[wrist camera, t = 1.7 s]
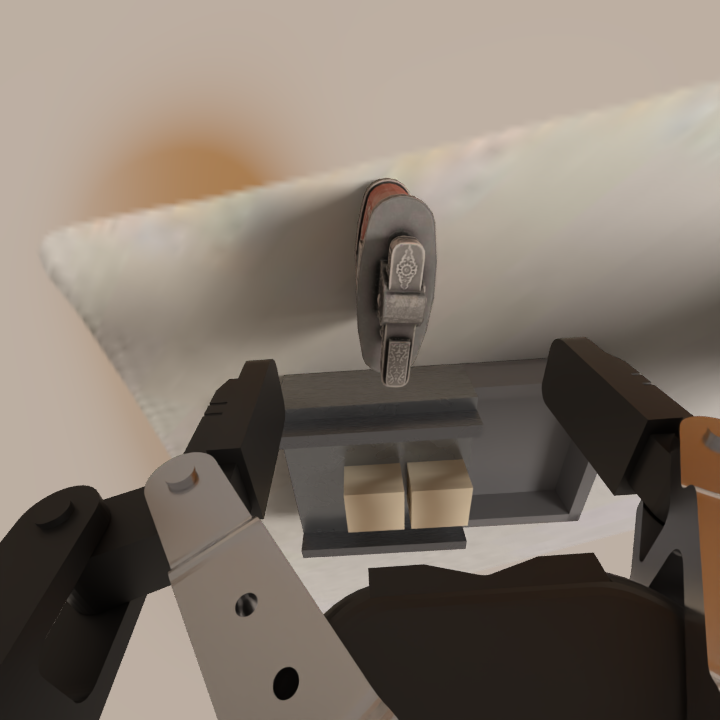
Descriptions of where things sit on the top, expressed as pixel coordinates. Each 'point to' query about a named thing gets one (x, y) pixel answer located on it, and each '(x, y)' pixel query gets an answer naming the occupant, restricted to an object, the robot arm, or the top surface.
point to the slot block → (372, 448)
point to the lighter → (394, 278)
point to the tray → (522, 451)
